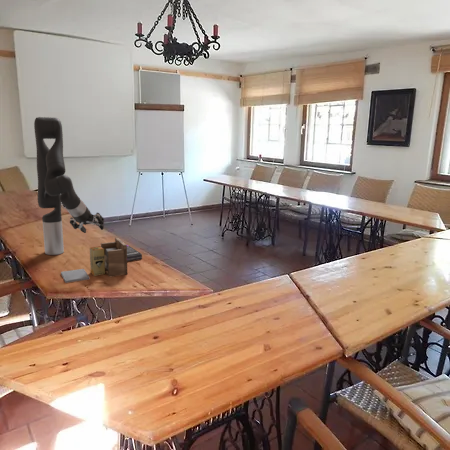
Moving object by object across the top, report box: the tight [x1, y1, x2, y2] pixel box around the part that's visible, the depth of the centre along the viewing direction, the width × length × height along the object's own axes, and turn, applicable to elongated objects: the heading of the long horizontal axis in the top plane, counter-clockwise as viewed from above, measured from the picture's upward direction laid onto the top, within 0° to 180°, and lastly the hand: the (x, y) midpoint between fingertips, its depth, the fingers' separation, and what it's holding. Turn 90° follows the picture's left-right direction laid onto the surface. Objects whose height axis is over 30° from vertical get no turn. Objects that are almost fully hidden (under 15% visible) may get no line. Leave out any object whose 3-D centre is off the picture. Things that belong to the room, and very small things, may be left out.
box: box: [126, 244, 143, 262], centre depth 208 cm, size 14×4×20 cm
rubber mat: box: [60, 268, 91, 284], centre depth 178 cm, size 12×10×1 cm
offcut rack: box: [100, 237, 128, 278], centre depth 185 cm, size 14×8×14 cm, turn 30°
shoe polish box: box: [89, 245, 106, 277], centre depth 182 cm, size 5×5×12 cm
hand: (93, 229), depth 189 cm, fingers open, 8 cm apart
